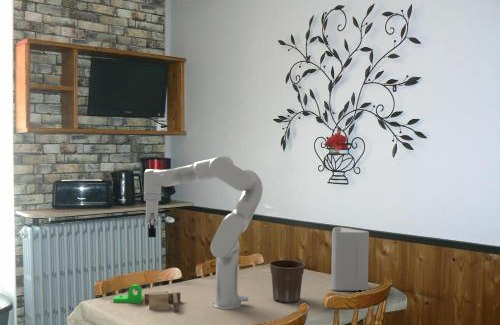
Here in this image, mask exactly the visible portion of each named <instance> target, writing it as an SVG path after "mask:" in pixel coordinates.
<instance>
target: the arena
mask: <svg viewBox="0 0 500 325" xmlns="http://www.w3.org/2000/svg"><path fill="white" fill-rule="evenodd" d="M143 296H144V299H143V301H144V304H148V305H147V310H151V311H152V310H153V311H154V309H149V292H148V293H147V292H146V293H144V295H143ZM170 303H172V305H173V312H174V313H178V312H179V310H178V308H179V303H181V292H179V291H177V292H168V308H160V309H159V310H170Z"/></svg>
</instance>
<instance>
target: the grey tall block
mask: <svg viewBox="0 0 500 325" xmlns="http://www.w3.org/2000/svg"><path fill="white" fill-rule="evenodd" d="M369 237H370V231H367V230H361V229H356V228H355V229H354V228H348V227H341V226H338V227H337V226H336V227H333V229H332V231H331V282H330V283H331V285H330V288H331V290H333V291H359V290H361V291H367V290H369V257H370V256H369V253H370V252H369V251H370V250H369V249H370V248H369V246H370V245H369V244H370V243H369V242H370V238H369Z"/></svg>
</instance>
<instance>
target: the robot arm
mask: <svg viewBox="0 0 500 325" xmlns="http://www.w3.org/2000/svg"><path fill="white" fill-rule="evenodd" d="M216 178H217V179H218V180H220V181H222V182H223V183H225V184H226V185H228V186H229V187H230V188H233V189H234V190H236V191H238V192H242V193H241V195H240V197H239V198H238V200H237V201H236V202H237V203H236V204H235V206H234V208H233V210H232V211H231V212H230V213H228V214H227V215H225V216H224V217H223V219H222V220H221V223H220V224H219V227H218V228H217V230H216V232H215V234H214V236H213V237H212V240H211V242H210V247H209V248H210V252H211V254H212V256H213V257H215V259H216V260H215V300H213V301H212V302H211V306H212V307H213V308H215V309H220V310H235V309H238V308H240V307H241V306H242V302H249V296H244V295H242V296H241V295H239V294H238V290H239V289H238V282H239V281H238V279H239V272H238V271H239V253H240V240H239V239H240V237H241V235H242V233H243V232H245V231H247V229H248V226H249V224H250V222H251V220H252V219H253V216H254V214H255V212H256V210H257V208H258V206H259V204H260V201H261V200H262V196H263V190H264V189H263V182H262V180H261V178H260V177H259V175H258V174H257V173H256V172H254V171H253V170H250V169H244V170H243V168H242V169H241V168H240V167H238V166H237V165H235V164H234V161H233V160H232V158H231V157H229V156H226V155H225V156H224V155H223V156H222V155H220V156H216V157H213V158H210V159H209V158H208V159H204V160H200V161H196V162H194V163H192V164H189V165H186V166H181V167H180V166H179V167H176V168H167V169H157V168H156V169H155V168H153V169H152V168H150V169H149V168H147V169H145V171H144V173H143V201H144V202H145V223H146V224H148V227H147V228H148V232H147V234H148V238H156V236H157V228H156V226H157V225H156V224H157V223H158V217H159V216H158V215H159V201H161V200H162V187H172V186H174V187H175V186H178V185H182V184H183V185H184V184H189V183H192V182H202V181H206V180H211V179H216Z"/></svg>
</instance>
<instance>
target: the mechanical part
mask: <svg viewBox="0 0 500 325" xmlns="http://www.w3.org/2000/svg"><path fill="white" fill-rule="evenodd" d="M134 290H135V291H137V293H134V292H133V291H134ZM142 294H143V289H142V287H141V285H139V284H137V283H136V284H135V283H134V284H132V285H131V286H130V287H129V288H128V291H127V294H122V295H121V294H119V295H116V296H114V298H112V302H113V303H126V304H128V303H129V304H131V303H132V304H141V303H143V301H144V295H142Z"/></svg>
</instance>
